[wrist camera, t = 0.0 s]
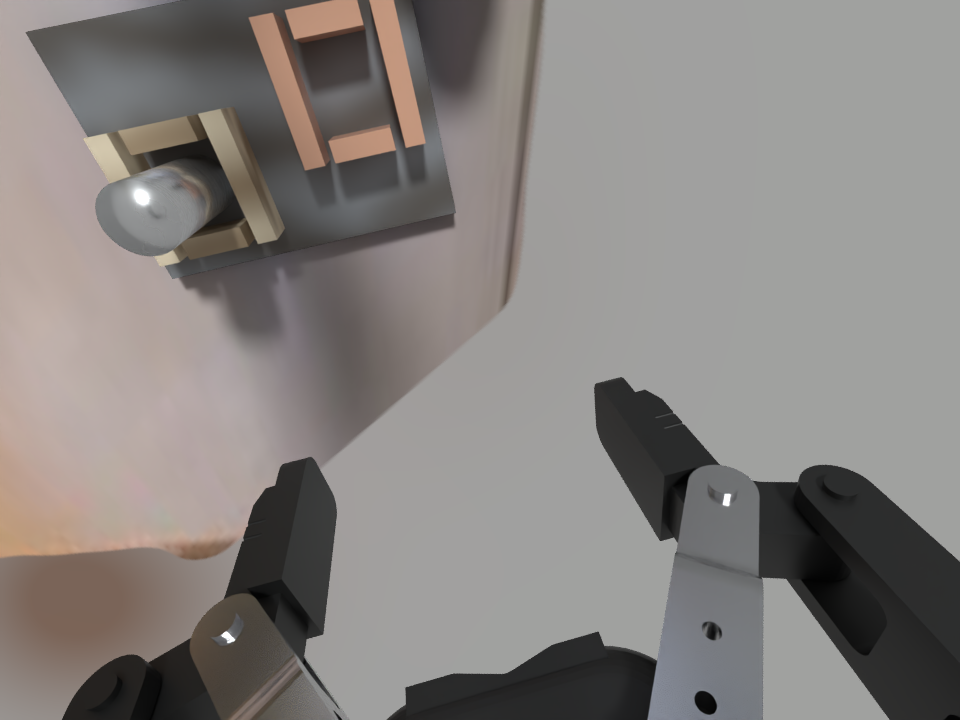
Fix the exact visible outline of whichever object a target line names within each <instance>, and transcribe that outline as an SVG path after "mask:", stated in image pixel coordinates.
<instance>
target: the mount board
mask: <svg viewBox="0 0 960 720" xmlns="http://www.w3.org/2000/svg"><path fill="white" fill-rule="evenodd" d="M327 1H332V0H182V1H177V2H172V3H167V4H162V5H157V6H152V7H147V8H142V9H137V10H132V11H127V12H122V13H118V14H113V15H108V16H103V17H98V18H93V19H88V20H83V21H78V22H73V23H68V24H63V25H58V26H53V27H48V28H43V29H38V30H33V31H28V32H26V34H27V36H28V37H29V39H30V41H31V42H32V44H33V46H34V47H35V49H36V51H37V52H38V54H39V56H40V57H41V59H42V61H43V62H44V64H45V66H46V67H47V69H48V71H49V73H50V74H51V76H52V78H53V79H54V81H55V83H56V84H57V86H58V88H59V89H60V91H61V93H62V94H63V96H64V98H65V99H66V101H67V103H68V104H69V106H70V108H71V109H72V111H73V113H74V114H75V116H76V118H77V119H78V121H79V123H80V124H81V126H82V128H83V129H84V131H85V133H86V135H87V136H88V137H87V138H83V139H84V141H85V143H86V144H87V146H88V148H89V149H90V151H91V153H92V154H93V156H94V158H95V159H96V161H97V162H98V164H99V166H100V167H101V169H102V171H103V172H104V174H105V176H106V177H107V179H108V181H109V182H110V184H111V183H113V182H116V181H118V180H121V179H124V178H127V177H129V176H132V175H135V174H138V173H140V172H143V171H146V170H149V169H152V168H154V167H157V166H160V165H163V164H165V163H168V162H171V161H174V160H176V159H179V158H182V157H185V156H188V155H203V156H206V157H209V158H211V159H213V160H215V161H216V162H218V163H219V164H220V165H221V166H222V167H223V169H224V172H225V174H226V176H227V178H228V180H229V182H230V185H231V187H232V189H233V191H234V197H233V200H232V202H231V204H230V205H229V206H228V207H227V208H226V209H225V210H223V211H222V212H221V213H220V214H218V215H217V216H216V217H214V218H213V219H212V220H211V221H209V222H208V223H207V224H205V225H204V226H203V227H202V228H200V229H199V230H198V231H196V232H195V233H194V234H193V235H191V236H190V237H189V238H187V239H186V240H185V241H184V242H182V243H181V244H180V245H178V246H177V247H176V248H175V249H173V250H172V251H170V252H169V253H166V254H164V255H160V256H154V257H155V259H156V260H157V262H158V264H159V265H160V267H162V266H165V267H166V269H167V270H168V272H169V274H170V275H171V277H172V279H175V278H179V277H183V276H188V275H192V274H196V273H200V272H205V271H209V270H213V269H217V268H222V267H226V266H230V265H235V264H239V263H243V262H247V261H252V260H256V259H260V258H265V257H269V256H273V255H277V254H282V253H286V252H290V251H294V250H299V249H303V248H307V247H312V246H316V245H320V244H324V243H329V242H333V241H337V240H342V239H346V238H350V237H354V236H359V235H363V234H367V233H371V232H376V231H380V230H384V229H389V228H393V227H397V226H401V225H406V224H410V223H414V222H418V221H423V220H427V219H431V218H436V217H440V216H444V215H448V214H453V213H456V211H455V206H454V201H453V196H452V191H451V187H450V182H449V177H448V172H447V167H446V162H445V158H444V153H443V148H442V143H441V138H440V133H439V129H438V124H437V119H436V114H435V109H434V104H433V100H432V95H431V90H430V85H429V80H428V75H427V71H426V66H425V61H424V56H423V51H422V46H421V42H420V37H419V32H418V27H417V22H416V17H415V13H414V8H413V3H412V0H394V4H395V8H396V13H397V17H398V21H399V26H400V30H401V35H402V39H403V44H404V48H405V53H406V57H407V62H408V66H409V70H410V75H411V79H412V84H413V88H414V93H415V97H416V102H417V106H418V111H419V115H420V119H421V124H422V128H423V133H424V137H425V142H426V143H425V144H421V145H416V146H412V147H407V148H406V146H405V143H404V139H403V135H402V131H401V127H400V123H399V119H398V115H397V111H396V107H395V103H394V99H393V95H392V91H391V87H390V83H389V79H388V75H387V71H386V67H385V63H384V59H383V55H382V50H381V46H380V42H379V38H378V34H377V30H376V26H375V22H374V18H373V14H372V10H371V6H370V2H369V0H358V3H359V7H360V11H361V15H362V19H363V23H364V26H365V30H363V31H358V32H353V33H348V34H344V35H339V36H334V37H329V38H325V39H320V40H315V41H310V42H305V43H301V42H299V41H297V40H295V39H294V37H293V34H292V31H291V28H290V25H289V22H288V19H287V16H286V13H285V10H288V9H293V8H298V7H302V6H307V5H312V4H317V3H322V2H327ZM268 13H274V14H276V15H277V16H279V17H280V18H282V19H283V21H284V24H285V27H286V30H287V33H288V36H289V39H290V42H291V45H292V48H293V51H294V54H295V57H296V60H297V63H298V66H299V69H300V72H301V75H302V78H303V81H304V84H305V87H306V90H307V93H308V96H309V99H310V102H311V104H312V107H313V110H314V113H315V116H316V119H317V122H318V125H319V128H320V131H321V134H322V137H323V140H324V143H325V146H326V149H327V152H328V155H329V158H330V160H329V162H328V163H327V165H326V166H323V167H318V168H314V169H309V170H305V169H304V166H303V163H302V161H301V158H300V155H299V152H298V150H297V147H296V144H295V142H294V139H293V136H292V134H291V131H290V128H289V125H288V123H287V120H286V117H285V115H284V112H283V109H282V107H281V104H280V101H279V98H278V96H277V93H276V90H275V88H274V85H273V82H272V80H271V77H270V74H269V71H268V69H267V66H266V63H265V61H264V58H263V55H262V53H261V50H260V47H259V44H258V42H257V39H256V36H255V34H254V31H253V28H252V25H251V23H250V20H249V17H254V16H259V15H263V14H268ZM388 124H390V127H391V131H392V135H393V138H394V142H395V147H396V150H394V151H389V152H385V153H381V154H376V155H372V156H367V157H363V158H358V159H354V160H349V161H345V162H340V163H335V160H334V157H333V154H332V151H331V148H330V145H329V142H328V141H329V140H330V139H331V138H332V137H334V136H339V135H343V134H348V133H352V132H357V131H361V130H366V129H370V128H375V127H379V126H384V125H388Z"/></svg>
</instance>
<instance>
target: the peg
mask: <svg viewBox="0 0 960 720" xmlns="http://www.w3.org/2000/svg"><path fill="white" fill-rule="evenodd" d="M233 197H234V191H233V189H232V187H231V185H230V182H229V180H228V178H227V176H226V174H225V172H224V169H223V167H222V166H221V165H220V164H219V163H218V162H216V161H215V160H213V159H211V158H209V157H206V156H203V155H188V156H185V157H182V158H179V159H176V160H174V161H171V162H168V163H165V164H163V165H160V166H157V167H154V168H152V169H149V170H146V171H143V172H140V173H138V174H135V175H132V176H129V177H127V178H124V179H121V180H118V181H116V182H113V183H111V184H108V185H107V186H105V187H104V188H103V189H102V190H101V191H100V193H99V194H98V197H97V199H96V206H95V209H96V215H97V219H98V221H99V223H100V225H101V227H102V229H103V230H104V231H105V233H106V234H107V235H108V236H109V237H110V238H111V239H112V240H113V241H114V242H115V243H117V244H118V245H119V246H121V247H123V248H124V249H126V250H128V251H130V252H133V253H136V254H139V255H144V256H160V255H164V254H166V253H169V252H170V251H172V250H173V249H175V248H176V247H177V246H178V245H180V244H181V243H182V242H184V241H185V240H186V239H187V238H189V237H190V236H191V235H193V234H194V233H195V232H196V231H198V230H199V229H200V228H202V227H203V226H204V225H205V224H207V223H208V222H209V221H211V220H212V219H213V218H214V217H216V216H217V215H218V214H220V213H221V212H222V211H223V210H225V209H226V208H227V207H228V206H229V205H230V204H231V202H232V200H233Z"/></svg>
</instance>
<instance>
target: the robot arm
mask: <svg viewBox="0 0 960 720" xmlns="http://www.w3.org/2000/svg"><path fill="white" fill-rule="evenodd" d="M594 393H595V411H596V427H597V431H598V435H599V438H600V441H601V443H602V445H603V447H604V448H605V450H606V452H607V453H608V455H609V457H610V458H611V460H612V462H613V463H614V465H615V467H616V468H617V470H618V472H619V473H620V475H621V477H622V478H623V480H624V482H625V483H626V485H627V487H628V488H629V490H630V492H631V493H632V495H633V497H634V498H635V500H636V502H637V503H638V505H639V507H640V508H641V510H642V512H643V513H644V515H645V517H646V518H647V520H648V522H649V523H650V525H651V527H652V528H653V530H654V532H655V533H656V535H657V537H658V538H659V540H660V541H663V540H666V539H670V538H673V537H674V538H675V539H676V541H677V542H678V546H677V551H676V553H675V557H674V563H673V569H672V575H671V582H670V587H669V593H668V600H667V605H666V611H665V618H664V623H663V629H662V635H661V641H660V647H659V653H658V660H655V659H653V658H651V657H649V656H647V655H645V654H642V653H640V652H637V651H633V650H630V649H627V648H621V647H614V646H604V644H603V642H602V639H601V637H600V634H599V632H595V633H592V634H589V635H585V636H581V637H578V638H575V639H571V640H568V641H564V642H561V643H557V644H554V645H551V646H550V647H548V648H547V649H545V650H543V651H542V652H540V653H539V654H537V655H536V656H534V657H532V658H531V659H529V660H528V661H526V662H525V663H523V664H521V665H520V666H518V667H517V668H515V669H514V670H512V671H510V672H508V673H506V674H451V675H447V676H444V677H440V678H437V679H433V680H430V681H426V682H423V683H419V684H416V685H413V686H409V687H406V705H405V706H403V707H401V708H400V709H399V710H397V711H396V712H395V713H394V714H393V715H392V716H390V717H389V718H388V719H387V720H763V580H762V578H761V577H763V578H784V579H787V580H788V582H789V583H790V585H791V586H792V587H793V589H794V590H795V591H796V593H797V594H798V595H799V597H800V598H801V599H802V601H803V602H804V604H805V605H806V606H807V608H808V609H809V610H810V612H811V613H812V615H813V616H814V617H815V619H816V620H817V621H818V622H819V624H820V625H821V627H822V628H823V630H824V631H825V632H826V634H827V635H828V636H829V638H830V639H831V640H832V642H833V643H834V644H835V646H836V647H837V649H838V650H839V651H840V653H841V654H842V655H843V657H844V658H845V659H846V661H847V662H848V664H849V665H850V666H851V668H852V669H853V670H854V672H855V673H856V674H857V676H858V677H859V679H860V680H861V681H862V683H863V684H864V685H865V687H866V688H867V689H868V691H869V692H870V694H871V695H872V696H873V698H874V699H875V700H876V702H877V703H878V704H879V706H880V707H881V708H882V710H883V711H884V713H885V714H886V715H887V717H888V718H889V719H890V720H960V562H959V561H958V560H957V559H956V558H955V557H954V556H953V555H952V554H951V553H949V552H948V551H947V550H946V549H945V548H944V547H943V546H941V545H940V544H939V543H938V542H937V541H936V540H935V539H934V538H933V537H931V536H930V535H929V534H928V533H927V532H926V531H925V530H924V529H923V528H921V527H920V526H919V525H918V524H917V523H916V522H915V521H914V520H912V519H911V518H910V517H909V516H908V515H907V514H906V513H905V512H904V511H902V510H901V509H900V508H899V507H898V506H897V505H896V504H895V503H893V502H892V501H891V500H890V499H889V498H888V497H887V496H886V495H885V494H883V493H882V492H881V491H880V490H879V489H878V488H877V487H876V486H874V485H873V484H872V483H871V482H870V481H869V480H867V479H866V478H864V477H863V476H861V475H859V474H857V473H855V472H853V471H851V470H848V469H845V468H842V467H838V466H832V465H817V466H812V467H809V468H807V469H806V470H804V471H803V472H802V474H801V475H800V477H799V480H798V482H757V481H752V480H751V479H750V478H749V477H748V476H746V475H745V474H744V473H742V472H740V471H738V470H736V469H734V468H731V467H727V466H722V465H720V464H718V462H717V461H716V460H715V459H714V458H713V457H712V456H711V454H710V453H709V452H708V451H707V450H706V449H705V448H704V446H703V445H702V444H701V443H700V442H699V441H698V440H697V438H696V437H695V436H694V435H693V434H692V433H691V432H690V430H689V429H688V428H687V427H686V426H685V425H683V424H682V421H681V420H680V419H679V418H678V417H677V416H676V415H675V414H673V411H672V410H671V409H670V408H669V406H668V405H667V404H666V403H665V402H664V401H663V400H662V399H661V398H659V397H657V396H655V395H654V394H652V393H650V392H648V391H646V390H642V391H639V392H634V390H633V389H632V388H631V386H630V385H629V384H628V383H627V382H626V380H625V379H624V378H622V377H620V378H616V379H612V380H608V381H604V382H600V383H596V384H595V388H594ZM336 517H337V509H336V503H335V499H334V496H333V493H332V491H331V490H330V488H329V486H328V484H327V482H326V480H325V478H324V477H323V475H322V473H321V471H320V469H319V467H318V465H317V464H316V462H315V460H314V459H313V458H311V457H308V458H305V459H301V460H297V461H293V462H289V463H285V464H283V465H282V466H281V467H280V470H279V473H278V477H277V481H276V484H275V486H273V487H269V488H266V489H265V490H264V492H263V493H262V494H261V496H260V497H259V499H258V500H257V501H256V503H255V504H254V506H253V508H252V512H251V515H250V518H249V521H248V527H247V528H246V531H245V534H244V537H243V539H244V541H243V542H242V544H241V547H240V550H239V553H238V556H237V560H236V563H235V566H234V569H233V572H232V575H231V579H230V582H229V585H228V588H227V591H226V595H225V597H224V599H223V600H222V601H220V602H218V603H217V604H216V605H214V606H213V607H212V608H211V609H210V610H209V611H208V612H207V613H206V614H205V615H204V616H203V617H202V619H201V620H200V621H199V623H198V624H197V626H196V628H195V629H194V632H193V634H192V637H191V638H190V639H188V640H187V641H185V642H184V643H182V644H180V645H178V646H177V647H175V648H173V649H171V650H170V651H168V652H166V653H164V654H163V655H161V656H159V657H158V658H156V659H154V660H152V661H151V662H149V663H148V662H146V661H145V660H144V659H142V658H141V657H140V656H138V655H125V656H121V657H119V658H116V659H114V660H112V661H110V662H109V663H107V664H106V665H104V666H103V667H101V668H100V669H99V670H97V671H96V672H95V673H94V674H93V675H92V676H91V677H90V678H89V679H88V680H87V681H86V682H85V683H84V684H83V685H82V686H81V687H80V689H79V690H78V691H77V693H76V694H75V696H74V697H73V699H72V701H71V702H70V704H69V706H68V708H67V710H66V712H65V714H64V716H63V719H62V720H349V718H348V717H347V716H346V714H345V713H344V711H343V710H342V709H341V707H340V706H339V704H338V703H337V701H336V700H335V699H334V697H333V696H332V694H331V693H330V691H329V690H328V689H327V687H326V686H325V684H324V683H323V682H322V680H321V679H320V677H319V676H318V674H317V673H316V672H315V670H314V669H313V667H312V666H311V664H310V663H309V662H308V660H307V659H306V658H305V656H304V653H305V646H306V639H309V638H312V637H316V636H319V635H323V631H324V623H325V614H326V605H327V596H328V587H329V579H330V570H331V561H332V552H333V543H334V534H335V526H336Z"/></svg>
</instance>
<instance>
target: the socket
mask: <svg viewBox="0 0 960 720" xmlns="http://www.w3.org/2000/svg"><path fill="white" fill-rule="evenodd" d="M369 2H370V6H371V10H372V14H373V18H374V22H375V26H376V30H377V34H378V38H379V42H380V46H381V50H382V55H383V59H384V63H385V67H386V71H387V75H388V79H389V83H390V87H391V91H392V95H393V99H394V103H395V107H396V111H397V115H398V119H399V123H400V127H401V131H402V135H403V139H404V143H405V146H406V148H407V147H412V146H416V145H421V144H425V143H426V142H425V137H424V133H423V128H422V124H421V119H420V115H419V111H418V106H417V102H416V97H415V93H414V88H413V84H412V79H411V75H410V70H409V66H408V62H407V57H406V53H405V48H404V44H403V39H402V35H401V30H400V26H399V21H398V17H397V13H396V8H395V4H394V0H369ZM285 13H286V16H287V19H288V22H289V25H290V28H291V31H292V34H293V37H294V39H295V40H297V41H299V42H301V43H305V42H310V41H315V40H320V39H325V38H329V37H334V36H339V35H344V34H348V33H353V32H358V31H363V30H365V26H364V23H363V19H362V15H361V11H360V7H359V3H358V0H332V1H327V2H322V3H317V4H312V5H307V6H302V7H298V8H293V9H288V10H285ZM249 20H250V23H251V25H252V28H253V31H254V34H255V36H256V39H257V42H258V44H259V47H260V50H261V53H262V55H263V58H264V61H265V63H266V66H267V69H268V71H269V74H270V77H271V80H272V82H273V85H274V88H275V90H276V93H277V96H278V98H279V101H280V104H281V107H282V109H283V112H284V115H285V117H286V120H287V123H288V125H289V128H290V131H291V134H292V136H293V139H294V142H295V144H296V147H297V150H298V152H299V155H300V158H301V161H302V163H303V166H304V169H305V170H309V169H314V168H318V167H323V166H326V165H327V163H328V162H329V160H330V158H329V155H328V152H327V149H326V146H325V143H324V140H323V137H322V134H321V131H320V128H319V125H318V122H317V119H316V116H315V113H314V110H313V107H312V104H311V102H310V99H309V96H308V93H307V90H306V87H305V84H304V81H303V78H302V75H301V72H300V69H299V66H298V63H297V60H296V57H295V54H294V51H293V48H292V45H291V42H290V39H289V36H288V33H287V30H286V27H285V24H284V21H283V19H282V18H280V17H279V16H277V15H276V14H274V13H268V14H263V15H259V16H254V17H249ZM328 142H329V145H330V148H331V151H332V154H333V157H334V160H335V163H340V162H345V161H349V160H354V159H358V158H363V157H367V156H372V155H376V154H381V153H385V152H389V151H394V150H396V147H395V142H394V138H393V135H392V131H391V127H390V124H388V125H384V126H379V127H375V128H370V129H366V130H361V131H357V132H352V133H348V134H343V135H339V136H334V137H332V138H331V139H330V140H329V141H328Z"/></svg>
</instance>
